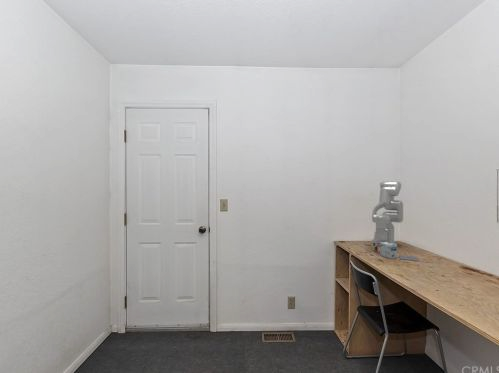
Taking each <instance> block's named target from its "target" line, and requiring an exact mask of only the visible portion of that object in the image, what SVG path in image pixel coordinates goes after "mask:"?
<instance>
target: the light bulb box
mask: <svg viewBox="0 0 499 373" xmlns="http://www.w3.org/2000/svg"><path fill="white" fill-rule="evenodd" d="M379 245H380V253H379V256H381V257H384V258H387V259H391V260H392V259H398V244H396V243H394V244H392V243H388V242H381V243H380V244H379Z"/></svg>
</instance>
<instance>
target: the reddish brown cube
mask: <svg viewBox="0 0 499 373" xmlns="http://www.w3.org/2000/svg"><path fill="white" fill-rule="evenodd" d="M376 253H378V254H380V244H377V252H376Z"/></svg>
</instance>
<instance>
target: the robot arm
mask: <svg viewBox="0 0 499 373" xmlns="http://www.w3.org/2000/svg"><path fill="white" fill-rule="evenodd" d="M379 188H380V189H379V200H378V203H377V205H375V206H374V207H373V209H372V215H371V221H372V223H374V224H375V231H374V235H373V239H372V240H371V241H370V244H372V245H373V246H374V247H375V248H374V251H376V253H377V245H380V243H381V242H388V243H392V244H395V225H394V223H403V221H404V203H403V201H401V200H398V199H397V200H396V199H395V197H397V196H399V194H400V191H401V188H402V183H401V182H400V181H382V182H380V183H379ZM382 208H384V210H386V211H383V212H382V213H381V214H377V212H378V211H379V210H380V209H382Z"/></svg>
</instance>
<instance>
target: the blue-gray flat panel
mask: <svg viewBox="0 0 499 373" xmlns="http://www.w3.org/2000/svg"><path fill="white" fill-rule="evenodd" d="M399 259H400V260H404V261H412V262H413V261H414V262H419V259H418V257H417V256H413V255H402V254H399Z"/></svg>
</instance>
